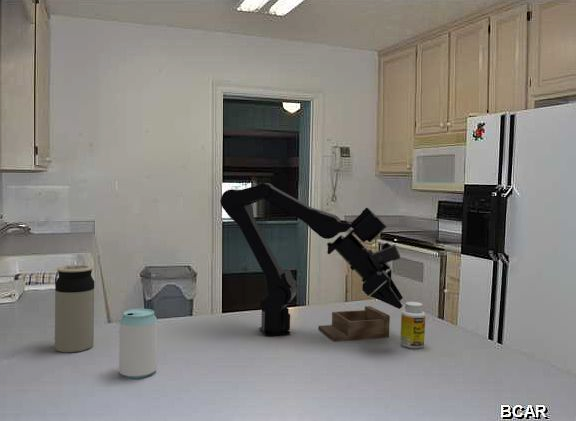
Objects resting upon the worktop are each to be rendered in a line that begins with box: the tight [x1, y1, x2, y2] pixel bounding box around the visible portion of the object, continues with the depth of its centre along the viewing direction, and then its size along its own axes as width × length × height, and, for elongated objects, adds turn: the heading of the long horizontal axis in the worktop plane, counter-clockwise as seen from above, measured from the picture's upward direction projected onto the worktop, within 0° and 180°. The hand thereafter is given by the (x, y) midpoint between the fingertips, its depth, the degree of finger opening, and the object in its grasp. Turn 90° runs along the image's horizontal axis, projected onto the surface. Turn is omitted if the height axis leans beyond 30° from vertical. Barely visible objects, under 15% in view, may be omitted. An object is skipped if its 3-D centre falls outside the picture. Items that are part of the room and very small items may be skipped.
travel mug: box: [54, 264, 95, 354], centre depth 110 cm, size 8×8×18 cm
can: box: [118, 308, 158, 379], centre depth 97 cm, size 7×7×12 cm
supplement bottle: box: [399, 301, 426, 350], centre depth 119 cm, size 6×6×10 cm
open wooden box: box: [317, 305, 391, 342], centre depth 128 cm, size 15×10×6 cm
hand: (401, 303), depth 119 cm, fingers open, 9 cm apart
